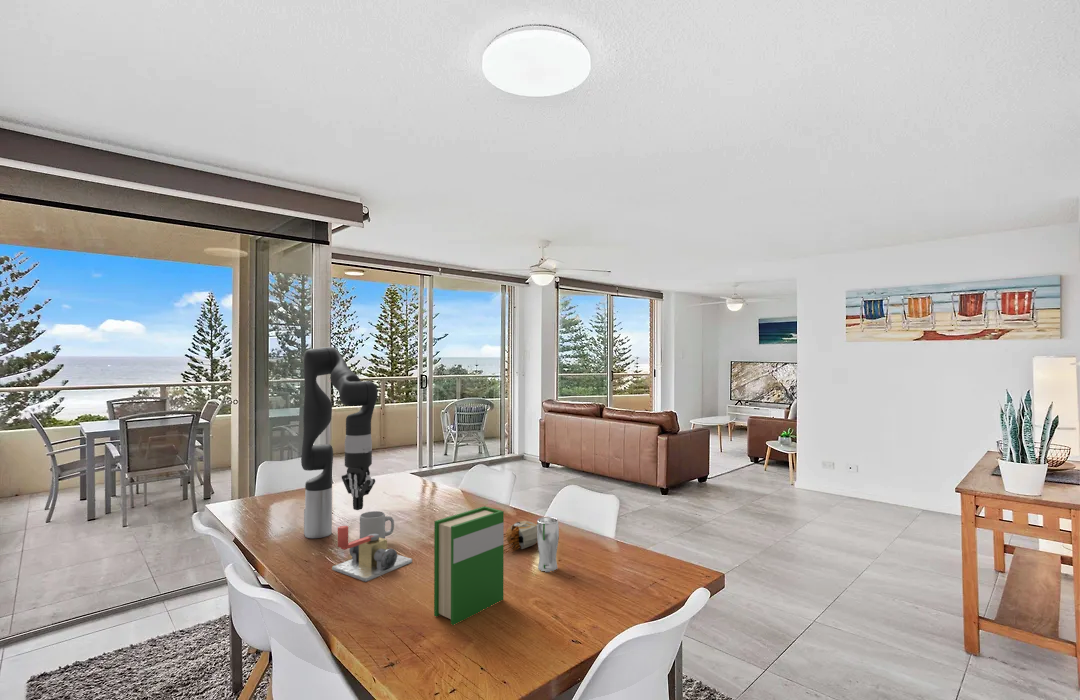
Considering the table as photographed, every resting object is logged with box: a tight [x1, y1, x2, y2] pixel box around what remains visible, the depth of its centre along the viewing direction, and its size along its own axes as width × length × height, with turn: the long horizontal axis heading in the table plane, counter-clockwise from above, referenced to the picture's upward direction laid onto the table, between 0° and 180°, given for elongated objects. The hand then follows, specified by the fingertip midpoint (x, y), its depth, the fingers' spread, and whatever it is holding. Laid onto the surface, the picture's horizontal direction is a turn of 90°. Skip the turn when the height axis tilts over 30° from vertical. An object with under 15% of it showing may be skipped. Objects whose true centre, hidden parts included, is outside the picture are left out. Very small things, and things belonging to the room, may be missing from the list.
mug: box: [359, 510, 395, 539], centre depth 184 cm, size 12×8×11 cm
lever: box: [337, 525, 379, 551], centre depth 161 cm, size 14×4×7 cm, turn 146°
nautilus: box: [504, 520, 537, 554], centre depth 183 cm, size 8×22×15 cm
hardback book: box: [433, 505, 505, 626], centre depth 138 cm, size 18×7×24 cm, turn 140°
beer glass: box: [536, 516, 560, 573], centre depth 163 cm, size 7×7×15 cm
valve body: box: [331, 537, 413, 583], centre depth 165 cm, size 16×18×8 cm
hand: (358, 509), depth 153 cm, fingers closed
